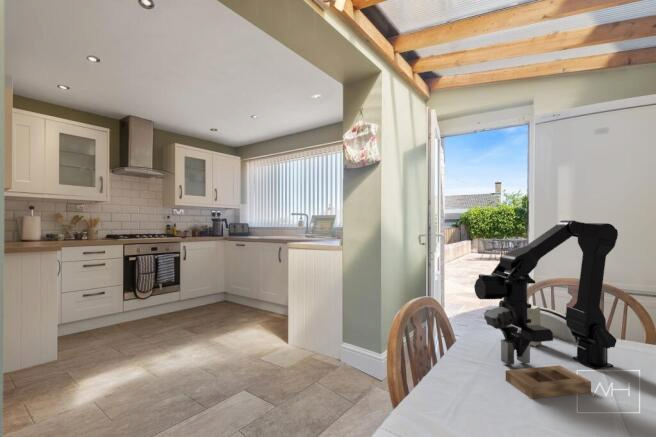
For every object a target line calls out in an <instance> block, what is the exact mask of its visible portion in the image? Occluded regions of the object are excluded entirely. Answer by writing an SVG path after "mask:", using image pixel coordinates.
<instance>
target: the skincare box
mask: <svg viewBox="0 0 656 437" xmlns="http://www.w3.org/2000/svg"><path fill="white" fill-rule="evenodd" d="M540 307H541V306H538V305H533V304H531V308H527V318H529V319H531V323H527V325H540V326H541V319H540ZM541 344H542V342H532V341H531V342H530V346H532V347H537V346H539V345H541Z"/></svg>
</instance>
